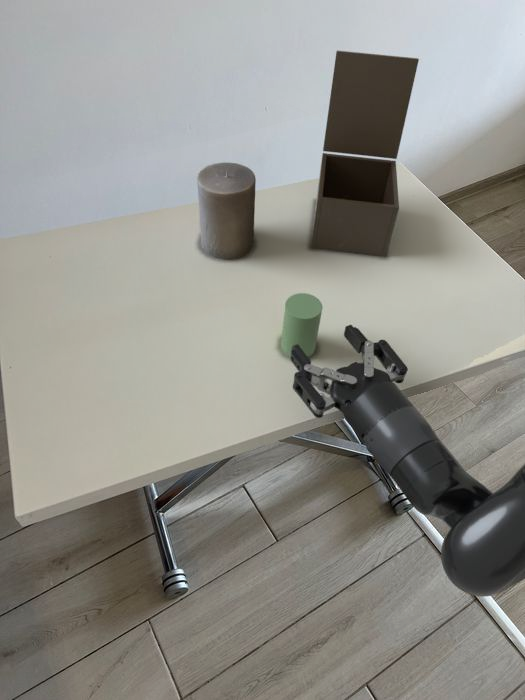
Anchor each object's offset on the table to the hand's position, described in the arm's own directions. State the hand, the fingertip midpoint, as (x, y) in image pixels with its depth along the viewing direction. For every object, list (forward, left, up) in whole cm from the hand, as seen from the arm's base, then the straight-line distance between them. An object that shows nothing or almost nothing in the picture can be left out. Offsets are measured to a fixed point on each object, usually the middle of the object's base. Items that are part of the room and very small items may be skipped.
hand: (320, 339), depth 73 cm
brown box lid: (-4, -45, +12) cm, 47 cm away
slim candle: (+3, -4, -7) cm, 9 cm away
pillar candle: (+18, -27, -7) cm, 33 cm away
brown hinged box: (-4, -36, -7) cm, 37 cm away
